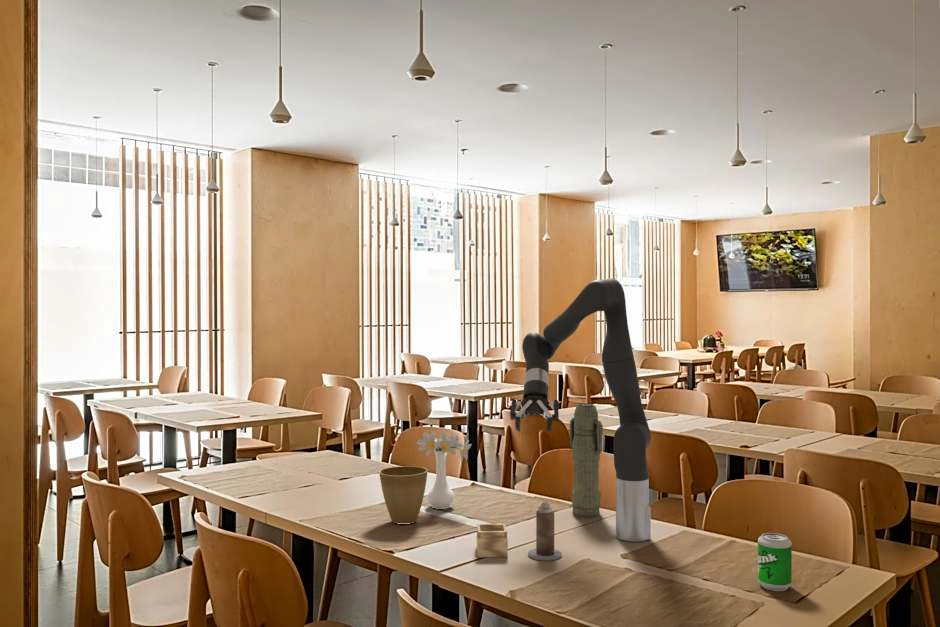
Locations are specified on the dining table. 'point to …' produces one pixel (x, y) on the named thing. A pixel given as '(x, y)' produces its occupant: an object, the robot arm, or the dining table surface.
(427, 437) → the flower vase
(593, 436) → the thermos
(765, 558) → the soda can
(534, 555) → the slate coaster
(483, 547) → the oak caddy
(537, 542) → the pepper mill
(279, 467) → the dining table surface
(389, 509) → the plant pot
